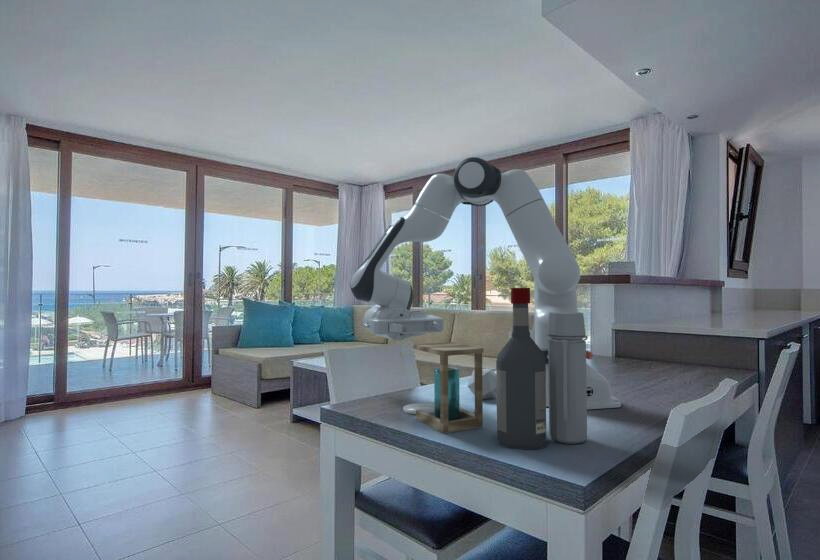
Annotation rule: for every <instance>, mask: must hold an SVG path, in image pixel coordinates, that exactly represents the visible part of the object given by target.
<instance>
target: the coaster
mask: <svg viewBox="0 0 820 560" xmlns="http://www.w3.org/2000/svg"><path fill="white" fill-rule="evenodd" d="M416 410H422V411H424V412H426V413H428V414H430V415H435V406H434V404H433V403H422V402H420V403H419V402H417V403H415V402H414V403H408V404H406V405H404V406H403V408H402V411H403V412H404V413H406V414H409V415H412V416H413V415H414V416H416Z"/></svg>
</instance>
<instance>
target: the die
mask: <svg viewBox="0 0 820 560" xmlns="http://www.w3.org/2000/svg"><path fill="white" fill-rule="evenodd" d="M470 376H471V377H470V379H469V382H468V384H467V388H469V390H470V392H471V393H472V394H473V395H474V396H475V368H474V369H473V370H472V373H471V375H470ZM482 391H483V400H493V399H495V400H496V399H497V385H496V372H495V371H494V370H493V369H492V368H482Z"/></svg>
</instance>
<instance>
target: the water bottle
mask: <svg viewBox="0 0 820 560" xmlns="http://www.w3.org/2000/svg"><path fill="white" fill-rule="evenodd" d="M584 317H585V316H584V313H583V312H579V311H578V312H549V316H548V327H547V334H548V335H546V338H547V339H548V380H549V407H548V434H549V436H550V437H551V439H552V440H553V441H555V442H558V443H562V444H566V445H577V444H581V443H584V442H585V441H586V440H587V439H588V415H587V414H588V410H587V389H586V363H587V358H586V351H587V342H586V341H587V340H588V338H589V337H588V335H586V334H587V333H586V327H585V324H586V323H585V318H584ZM548 337H550V338H551V339H550V338H548Z"/></svg>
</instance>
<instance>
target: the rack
mask: <svg viewBox="0 0 820 560" xmlns="http://www.w3.org/2000/svg"><path fill="white" fill-rule="evenodd" d="M414 350H418V351H421V352H425V353H430V354H433V355H438V356H439V366H440V419H439V418H437V417H435V415H434V414H428V413H426V412H424V411H422V410H416V415H415V420H417V421H418V422H421V423H422V424H424V425H426V426H428V427H431V428H432V429H434V430H436V431H438V432H440V433H442V434H448V433H455V432H461V431H465V430H467V431H468V430H472V429H478V428H483V427H484V423H483V422H484V420H483V417H484V415H483V414H484V412H483V411H484V410H483V409H484V408H483V407H484V406H483V405H484V404H483V401H484V399H483V391H482V369H483V354H484V347H479V346H473V345H468V344H462V343H456V342H452V341H449V342H436V343H435V342H434V343H424V344H423V343H422V344H414ZM463 355H474V358H473V361H474V369H475V395H474V413H473V412H470V411H467V410H465V409H462V408H460V419H459V420H452V421H448V366H449V356H451V357H452V356H463Z"/></svg>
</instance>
